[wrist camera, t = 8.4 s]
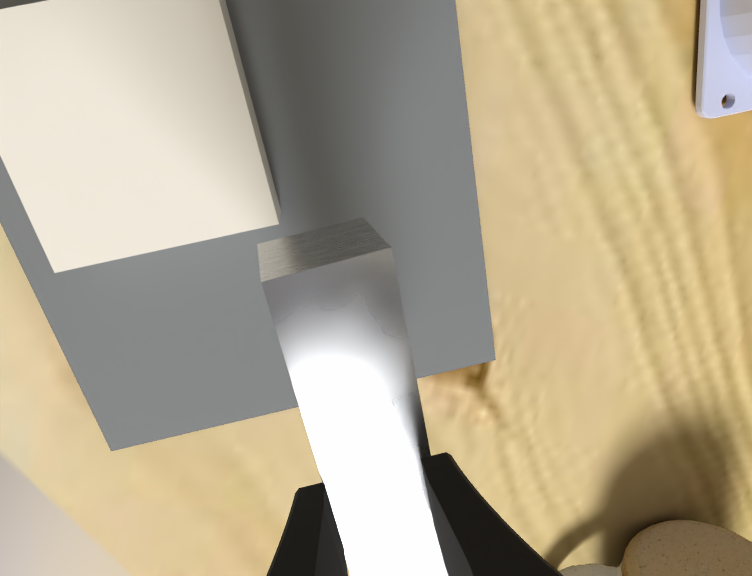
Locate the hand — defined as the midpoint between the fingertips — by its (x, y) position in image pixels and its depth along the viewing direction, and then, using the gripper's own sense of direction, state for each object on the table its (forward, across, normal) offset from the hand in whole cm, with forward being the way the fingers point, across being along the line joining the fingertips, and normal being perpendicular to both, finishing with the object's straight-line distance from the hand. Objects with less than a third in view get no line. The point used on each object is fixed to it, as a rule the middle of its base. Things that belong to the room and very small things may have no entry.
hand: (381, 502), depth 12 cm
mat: (+9, +2, -5) cm, 11 cm away
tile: (+8, +5, -5) cm, 11 cm away
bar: (+2, 0, 0) cm, 3 cm away
